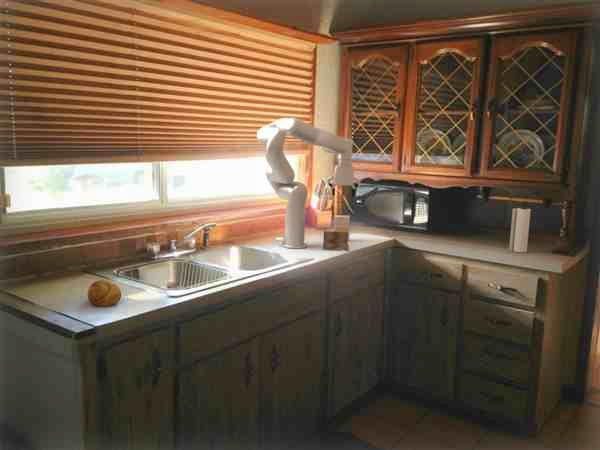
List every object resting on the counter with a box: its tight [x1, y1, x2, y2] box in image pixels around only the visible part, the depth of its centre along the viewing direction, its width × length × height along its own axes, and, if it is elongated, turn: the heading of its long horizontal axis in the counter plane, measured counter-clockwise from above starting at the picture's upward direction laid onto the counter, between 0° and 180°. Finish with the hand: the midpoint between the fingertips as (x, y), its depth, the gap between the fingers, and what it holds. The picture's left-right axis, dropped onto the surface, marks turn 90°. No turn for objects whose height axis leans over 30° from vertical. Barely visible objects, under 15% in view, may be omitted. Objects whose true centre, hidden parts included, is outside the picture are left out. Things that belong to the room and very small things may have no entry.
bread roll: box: [87, 279, 122, 307], centre depth 171 cm, size 13×10×8 cm
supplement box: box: [333, 214, 351, 242], centre depth 280 cm, size 8×5×13 cm, turn 84°
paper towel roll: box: [508, 207, 531, 254], centre depth 263 cm, size 7×6×21 cm
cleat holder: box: [322, 230, 349, 252], centre depth 262 cm, size 12×12×7 cm
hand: (343, 196), depth 277 cm, fingers open, 9 cm apart
